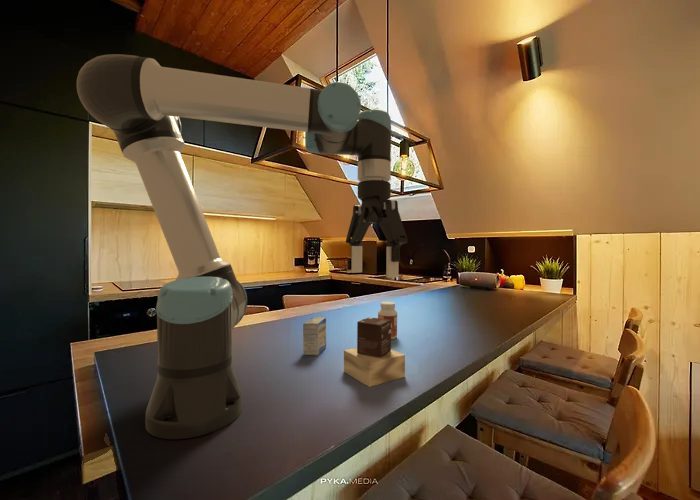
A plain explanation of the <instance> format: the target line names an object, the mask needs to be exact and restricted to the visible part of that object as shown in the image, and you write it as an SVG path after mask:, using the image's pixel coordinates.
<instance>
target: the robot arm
mask: <svg viewBox="0 0 700 500" xmlns="http://www.w3.org/2000/svg"><path fill="white" fill-rule="evenodd" d="M76 91H77V95H78V98H79V99H78V100H79V101H80V103H81V104H82V106H83V107H84V109H85V110H86V111H87V112H88V113H89V114H90V116H92V117H93V118H94V120H96V121H98V122H99V123H101V124H102V125H104V126H105V127H107V128H109V129H111V131H113V133H114V135H115V138H116V140H117V142H118V145H119V149H120V151H121V154H122V155H123V157H124V158H125V159H127V160H129V161H130V162H133V163H134V164H135V165H136V168H137V170H138V173H139V175H140V178H141V180H142V182H143V186H144V187H145V191H146V192H147V195H148V198H149V200H150V203H151V205H152V208H153V210H154V213H155V215H156V218H157V220H158V223H159V226H160V229H161V231H162V233H163V236H164V238H165V240H166V244H167V246H168V249H169V251H170V254H171V256H172V258H173V261H174V263H175V266H176V269H177V271H178V274H177V276H176V279H175V280H172V281H169V282H167V283H165V284H163V285H162V286H161V287H160V289H159V290H158V294H157V301H156V306H155V311H156V327H157V328H156V331H157V332H156V334H157V335H156V341H157V343H156V345H157V377H156V381H155V384H154V387H153V389H152V392H151V396H150V397H149V401H148V404H147V407H146V410H145V417H144V418H145V423H144V424H145V426H144V427H145V430H146V432H147V434H149V435H151V436H153V437H155V438H159V439H164V440H183V439H191V438H195V437H196V438H197V437H200V436H203V435H204V436H205V435H207V434H210V433H213V432H216V431H218V430H220V429H223V428H225V427H226V426H228V425H229V424H230V423H232V422H234V421H235V420H236V418H238V417H239V416H240V414H241V413H242V410H243V395H242V391H241V389H240V388H241V387H240V385H239V383H238V380H237V377H236V374H235V371H234V368H233V365H232V364H233V360H232V359H233V357H232V356H233V354H232V352H233V351H232V350H233V349H232V348H233V346H232V345H233V341H232V340H233V339H232V338H233V337H232V336H233V334H232V332H233V329H234V328H235V327H236V325H238V324H239V323H240V322H241V321H242V319H243V318H244V315H245V313H246V312H247V306H248V296H247V291H246V290H245V288H244V286H243V285H242V283H241V282H240V281H239V280H238V279H237V277H236V274H235V272H234V269H233V267H232V264H231V263H230V262H228V261H226V260H224V259H222V258H221V256H220V253H219V251H218V248H217V246H216V243H215V241H214V238H213V235H212V233H211V230H210V226H209V225H208V223H207V220H206V217H205V214H204V212H203V208H202V207H201V204H200V202H199V199H198V196H197V193H196V190H195V188H194V186H193V184H192V181H191V178H190V175H189V172H188V170H187V168H186V165H185V163H184V160H183V158H182V155H181V154H182V152H183V150H184V148H185V146H186V145H185V141H184V139H183V136H182V123H181V119H180V118H186V119H195V120H202V121H203V120H204V121H209V122H210V121H212V122H220V123H227V124H236V125H245V126H253V127H261V128H269V129H278V130H287V131H296V132H305V135H304V136H305V137H304V138H305V139H304V144H305V150H306V152H308V153H311V154H318V155H339V156H340V155H341V156H343V155H345V156H357V181H359V182H358V183H357V198H358V200H360V201H361V205H355V204H354V205H353V207H352V216H351V220H350V223H349V227H348V230H347V235H346V238H345V242H346V244H348V245H349V246H350V251H351V254H350V255H351V269H350V270H351V271H350V272H351V273H352V274H353V273H354V274H355V273H363V243H362V242H363V240H364V237H365V236H366V234H367V231H368V229H369V228H370V226H371V225H372V224H378V225H379V226H378V227H379V228H380V230H381V231H382V234H383V235H384V237H385V239H386V241H387V246H386V255H385V256H386V271H385V274H386V275H385V276H386V278H389V279H391V278H399V272H400V271H399V270H400V268H399V263H400V261H401V247H402V246H403V245H405V244H407V243H408V241H409V239H408V237H407V236H408V235H407V233H406V230H405V227H404V224H403V221H402V218H401V215H400V212H399V204H398V201H397V200H396V199H390V198H391V192H392V190H391V189H392V186H391V183H390V182H389V181H390V180H391V170H392V169H391V167H392V166H391V164H392V163H391V157H392V135H393V132H392V121H391V119H392V118H391V116H390V114H389V113H388V112H387V111H385V110H382V109H379V108H377V109H376V108H373V109H366V110H363V111H361V108H362V105H361V103H362V101H361V99H360V98H361V97H360V96H359V93H358V92H357V90H356V89H355V88H354V87H353V86H351V85H349V84H348V83H347V82H344V81H343V82H342V81H335V82H331V83H329V84H327V85H326V86H324V87H323V89H317V88H312V87H311V88H310V87H303V86H297V85H292V84H291V85H289V84H283V83H277V82H276V83H275V82H269V81H262V80H255V79H247V78H243V77H235V76H228V75H221V74H215V73H208V72H202V71H201V72H200V71H195V70H194V71H193V70H187V69H182V68H181V69H180V68H173V67H166V66H161V65H160V63H159V62H158V61H157V60H156V59H155V58H151V57H146V56H145V57H144V56H138V55H133V54H132V55H131V54H115V53H113V54H103V55H98V56H95V57H94V58H92V59H90V60H88V61H86V62H84V65H83V66H82V67H80V70H79V71H78V75H77V78H76Z"/></svg>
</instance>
